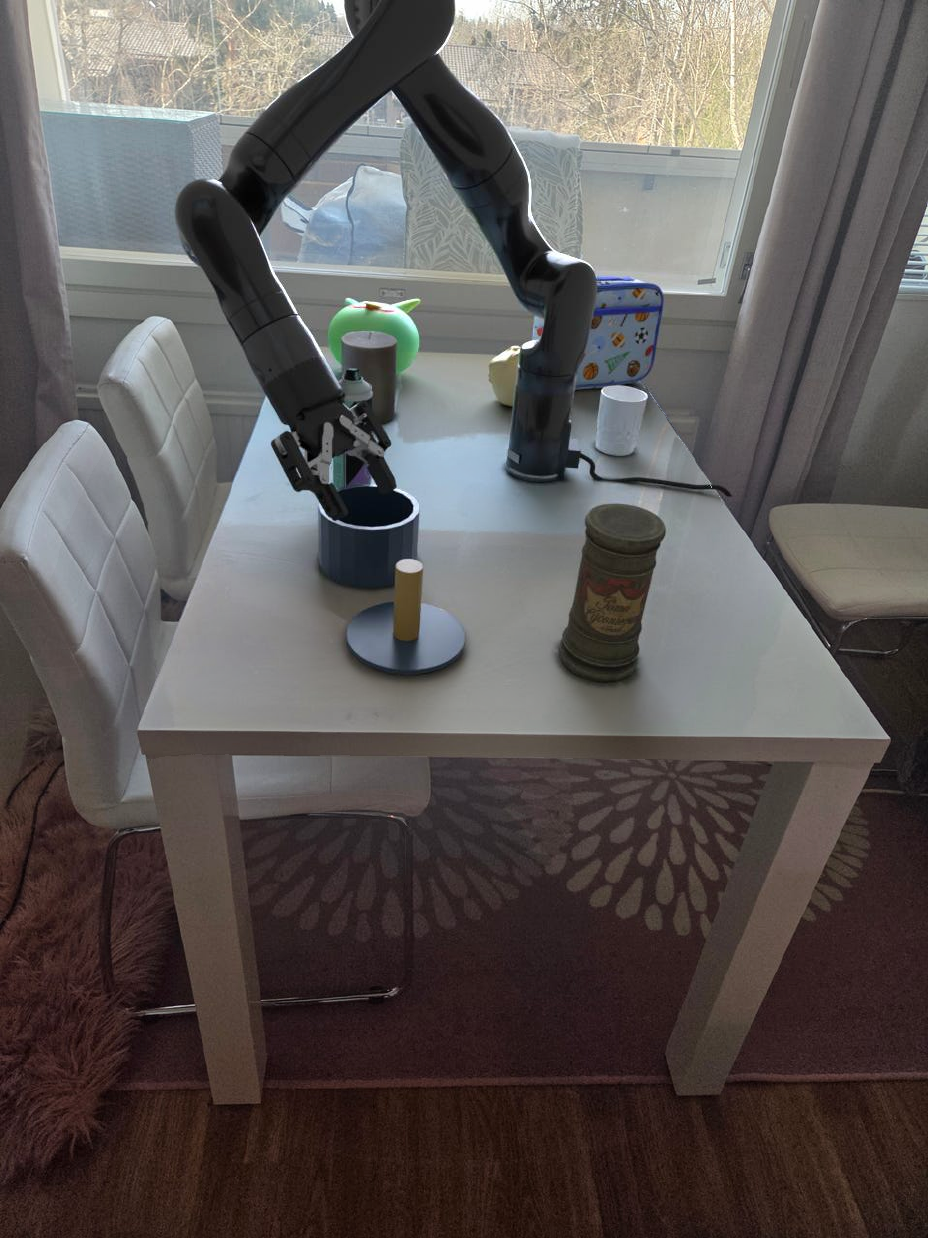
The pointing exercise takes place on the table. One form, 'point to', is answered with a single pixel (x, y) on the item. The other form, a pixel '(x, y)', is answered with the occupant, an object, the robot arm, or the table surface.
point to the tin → (368, 536)
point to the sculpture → (504, 375)
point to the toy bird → (377, 327)
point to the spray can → (346, 466)
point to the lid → (406, 629)
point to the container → (611, 592)
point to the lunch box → (619, 333)
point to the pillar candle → (374, 367)
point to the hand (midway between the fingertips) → (366, 504)
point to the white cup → (619, 419)
